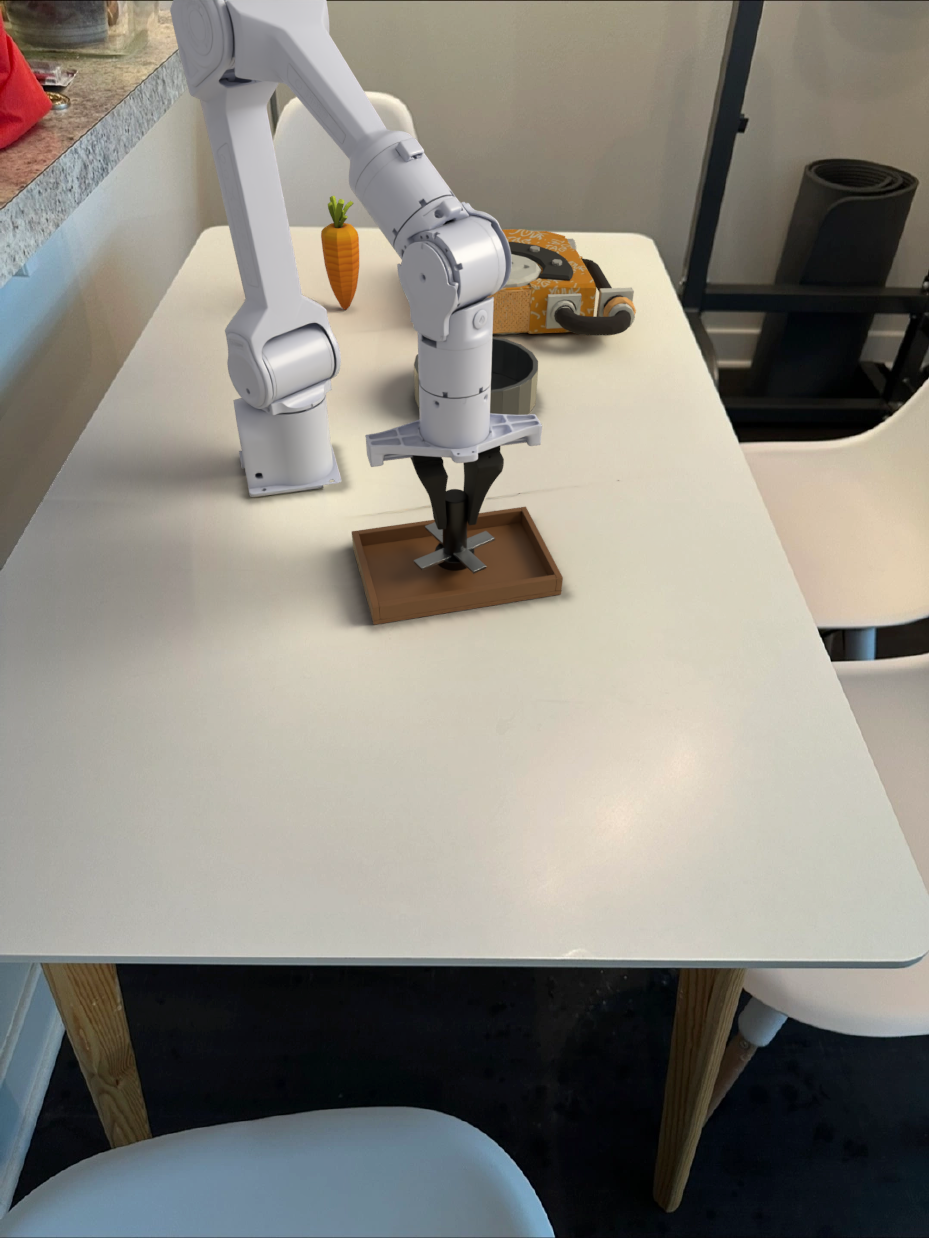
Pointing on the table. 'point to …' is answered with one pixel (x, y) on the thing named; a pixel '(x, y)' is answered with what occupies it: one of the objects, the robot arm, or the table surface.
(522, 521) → the tray
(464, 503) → the blade
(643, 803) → the table surface
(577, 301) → the device
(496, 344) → the processor bowl
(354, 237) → the carrot
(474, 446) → the robot arm
